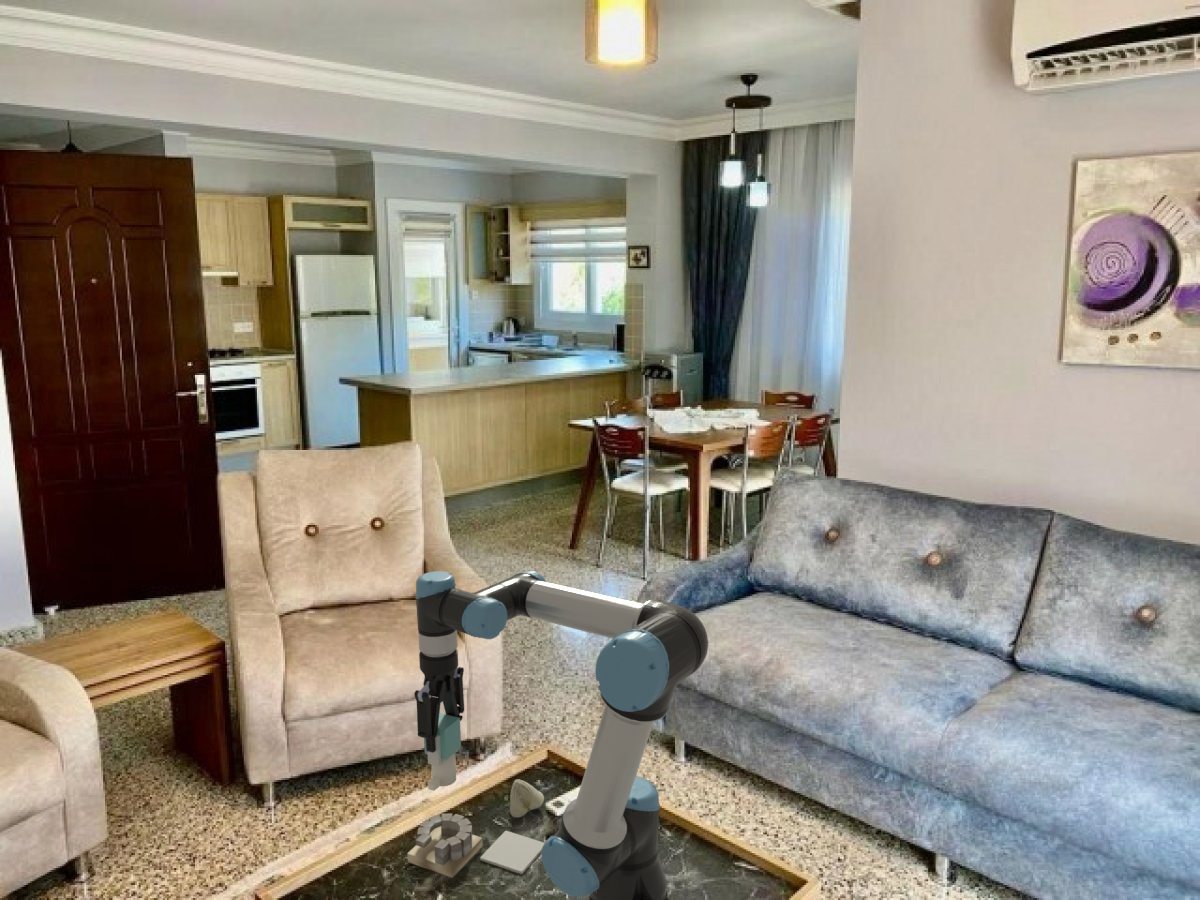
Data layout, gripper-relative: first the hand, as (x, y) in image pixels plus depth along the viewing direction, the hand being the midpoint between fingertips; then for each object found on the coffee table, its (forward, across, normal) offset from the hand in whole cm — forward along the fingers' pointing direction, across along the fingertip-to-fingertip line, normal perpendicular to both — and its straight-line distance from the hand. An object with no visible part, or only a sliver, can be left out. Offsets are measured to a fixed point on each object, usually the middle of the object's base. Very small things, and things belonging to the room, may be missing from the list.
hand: (443, 756), depth 185 cm
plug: (+5, 0, 0) cm, 5 cm away
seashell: (+23, -21, +7) cm, 32 cm away
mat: (+23, -7, +12) cm, 26 cm away
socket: (+22, 0, -1) cm, 22 cm away
